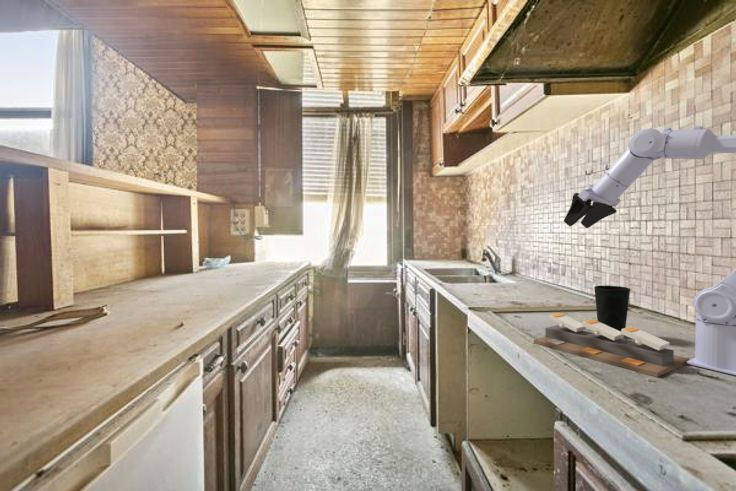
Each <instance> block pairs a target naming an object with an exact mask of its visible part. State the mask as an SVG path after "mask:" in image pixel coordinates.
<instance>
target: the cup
mask: <svg viewBox="0 0 736 491" xmlns="http://www.w3.org/2000/svg"><path fill="white" fill-rule="evenodd" d="M593 288H594V289H593V290H594V299H595V308H596V317H597V319H596V320H597V321H599V322H600V323H603V324H605V325H607V326H609V327H612V328H614V329H616V330H618V331H621V330H622V329H623V328H627V319H628V310H629V302H630V301H629V300H630V293H631V288H630V287H625V286H618V285H595V286H594V287H593ZM624 337H626V336H625V335H624Z"/></svg>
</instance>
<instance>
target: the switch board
mask: <svg viewBox="0 0 736 491" xmlns="http://www.w3.org/2000/svg"><path fill="white" fill-rule="evenodd" d="M544 329H545V331H544V332H545V335H544V336H543V337H540V338H536V339H533V344H535V345H539V346H543V347H546V348H550V349H554V350H557V351H561V352H565V353H569V354H572V355H576V356H579V357H583V358H587V359H590V360H594V361H597V362H601V363H604V364H608V365H611V364H612V366H615V365H617V366H616V367H619V366H620V367H619V368H622V367H623V369H626V368H627V369H626V370H629V369H630V371H633V370H634V371H633V372H638V373H641V374H645V375H648V376H651V377H655V378H658V377H661V376H663V375H665V374H667V373H669V372H672V371H674V370H676V369H678V368H680V367H682V366H685V365H688V364H687V363H686V361H688V360H690V358H689V357H685V356H684V357H683V356H680V355H675V354H674V353H675V352H674V351H675V350H674V349H671V348H664V349H662V350H659V351H658V350H656V349H654V348H652V347H650V346H647V345H645V344H642V345H637V344H636V342H635V341H634V340H633V341H632V340H628V339H623V338H621V339H617V340H612V339H609V338H607V337H605V336H603V335H600V336H596V335H595V334H594V332H592V331H591V332H590V331H587V330H582V331H579V332H575V331H573V330H571V329H569V328H567V327H565V328H561V327H560V326H559V324H557V325H553V326H548V327H545V328H544Z"/></svg>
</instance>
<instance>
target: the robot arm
mask: <svg viewBox="0 0 736 491" xmlns="http://www.w3.org/2000/svg"><path fill="white" fill-rule="evenodd" d="M714 153H716V154H718V153H719V154H720V153H722V154H736V134H725V135H724V134H723V135H722V134H721V135H716V134H715V133H714V131H712V130H711V129H709V128H704V127H703V126H701V125H694V126H693V127H692V129H672V128H671V127H665V128H663V130H662V131H661V132H660V131H659V130H657V129H656V128H654V127H649V128H646V129H642V130H639V131H637V132H636V133H634V134H633V135H632V136H631V138H630V140H629V144H628V147H627V149H626V150H625V151H624V152H623V153H622V154H621V155H620V156H619V157H618V158H617V159H616V160H615V161H614V162H613V164H612V165H611V166H610V167H609V169H607V171H606V172H605V173H603V175H602V176H601V178H599V180H597V182H596V183H595V184H594V185H592V184H589V185H587V188H586V189H585V188H583V189H582V190H581V191H580V192H579V193H578V192H574V194H573V196H572V201H571V204H570V207H569V209H568V211H567V214H566V215H565V217H564V218H563V219H564V220H563V222H564V223H565V224H566V225H567V226H568V227H572V226H575V224H577V223H578V222H579V221H580V220H581V221H580V224H581V225H582V226H583V227H584V228H585V229H590V227H592V226H594V225H595V224H596V223H598V222H600V221H601V220H603V219H604V218H607V217H610V216H612V215H614V214H616V213H617V209H616V206H618V205H619V203H621V202H622V200H621V199H620V197H621V196H622V195H623V194H624V193H625V192H626V190H628V188H629V187H630V186H631V185H632V184H633V183H634V182H635V181H636V180H637V179H638V178H639V177H640V176H641V174H643V173H644V172H645V171H646V169H647V168H648V167H649V166H650V165H651V164H652V163H653V162H654V161H656V160H659V159H661V158H663V159H665V160H666V159H669V160H671V159H672V160H674V159H677V160H678V159H679V160H680V159H681V160H704V159H706V158H707V157H708V156H710V155H712V154H714ZM692 303H693V304H692V305H693V308H694V311H695V312H696V313H697V314H696V315H695V334H694V335H695V336H694V338H695V344H694V345H695V347H694V352H695V353H694V357H692V358H691V359H690V358H689V359H690V360H688V361H686V363H687V364H686V365H691V366H696V367H700V368H703V369H707V370H708V369H709V370H712V371H716V372H721V373H725V374H729V375H733V376H736V268H735V269H734V270H733V271H732V272H730V273H729V274H727V275H726V276H725V277H724V278H722V279H721V280H720V281H718V283H717V284H715V285H713V286H711V287H708V288H706V289H702V290H701V291H699V292H697V294H696V295H694V297H693V302H692Z"/></svg>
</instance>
